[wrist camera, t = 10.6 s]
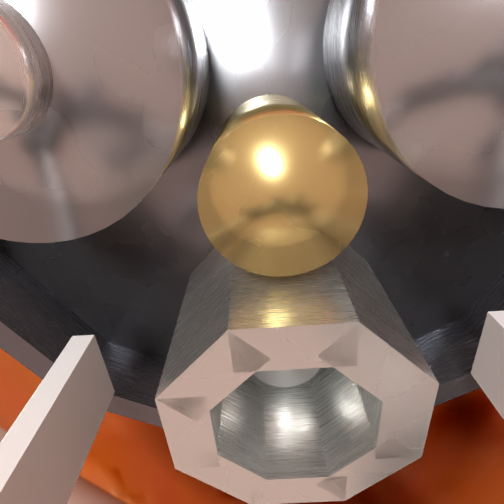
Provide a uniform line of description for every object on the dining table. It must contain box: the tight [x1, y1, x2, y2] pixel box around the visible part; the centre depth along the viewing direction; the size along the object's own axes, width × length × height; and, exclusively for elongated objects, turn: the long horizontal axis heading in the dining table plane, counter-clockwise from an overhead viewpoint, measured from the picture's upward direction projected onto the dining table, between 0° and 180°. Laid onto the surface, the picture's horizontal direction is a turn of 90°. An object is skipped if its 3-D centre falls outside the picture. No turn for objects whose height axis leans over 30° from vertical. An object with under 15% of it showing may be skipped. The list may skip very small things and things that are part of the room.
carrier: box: [0, 0, 504, 428], centre depth 10 cm, size 24×24×8 cm
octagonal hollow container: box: [155, 246, 439, 504], centre depth 12 cm, size 7×7×6 cm
